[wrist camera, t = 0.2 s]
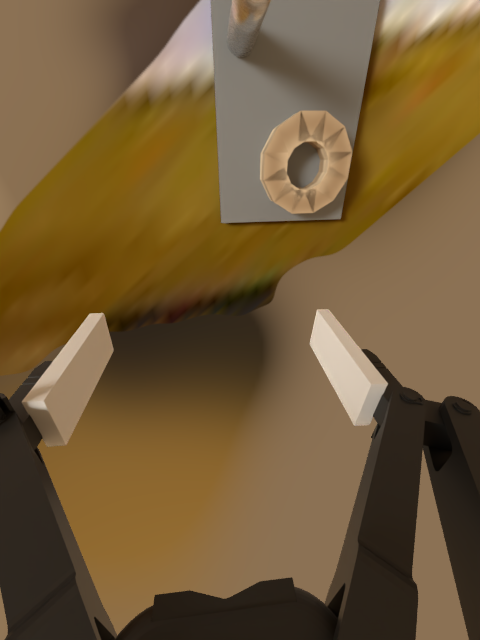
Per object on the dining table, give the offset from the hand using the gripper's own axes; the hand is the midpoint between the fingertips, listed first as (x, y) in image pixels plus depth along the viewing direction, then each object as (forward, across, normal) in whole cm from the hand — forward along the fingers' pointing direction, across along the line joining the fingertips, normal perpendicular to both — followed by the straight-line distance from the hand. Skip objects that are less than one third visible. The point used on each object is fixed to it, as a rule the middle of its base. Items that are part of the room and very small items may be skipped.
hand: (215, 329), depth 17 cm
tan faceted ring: (+26, +12, +9) cm, 30 cm away
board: (+28, +10, +14) cm, 32 cm away
